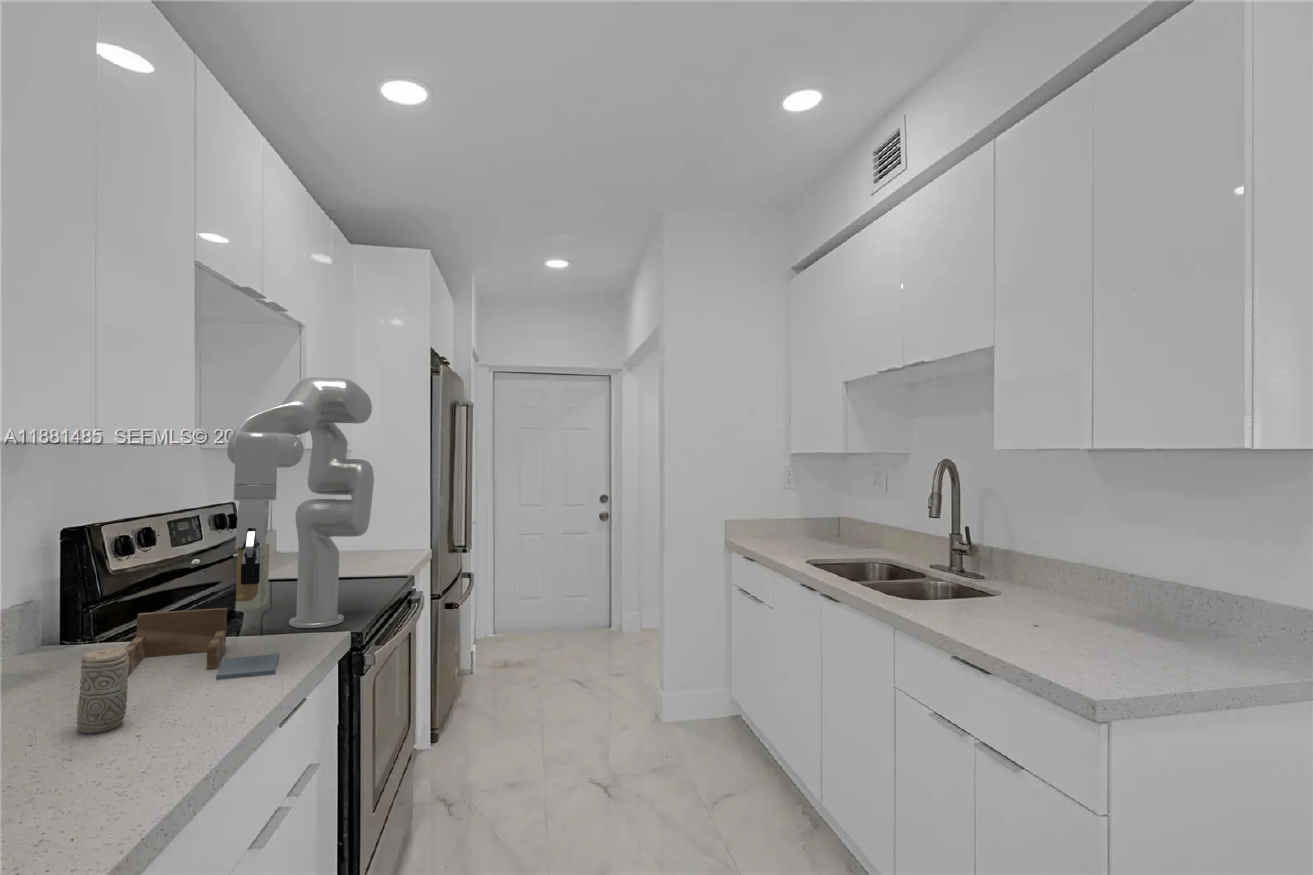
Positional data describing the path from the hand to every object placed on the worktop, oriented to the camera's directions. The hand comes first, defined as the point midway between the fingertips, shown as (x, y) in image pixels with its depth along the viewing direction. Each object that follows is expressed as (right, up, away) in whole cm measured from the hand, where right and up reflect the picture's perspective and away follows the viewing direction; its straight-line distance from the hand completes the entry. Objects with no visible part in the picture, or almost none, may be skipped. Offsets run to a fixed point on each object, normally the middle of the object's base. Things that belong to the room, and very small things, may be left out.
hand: (251, 580), depth 143 cm
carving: (-6, -17, -32) cm, 36 cm away
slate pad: (0, -18, 0) cm, 18 cm away
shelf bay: (-17, -17, +2) cm, 25 cm away
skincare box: (0, -5, 0) cm, 5 cm away
